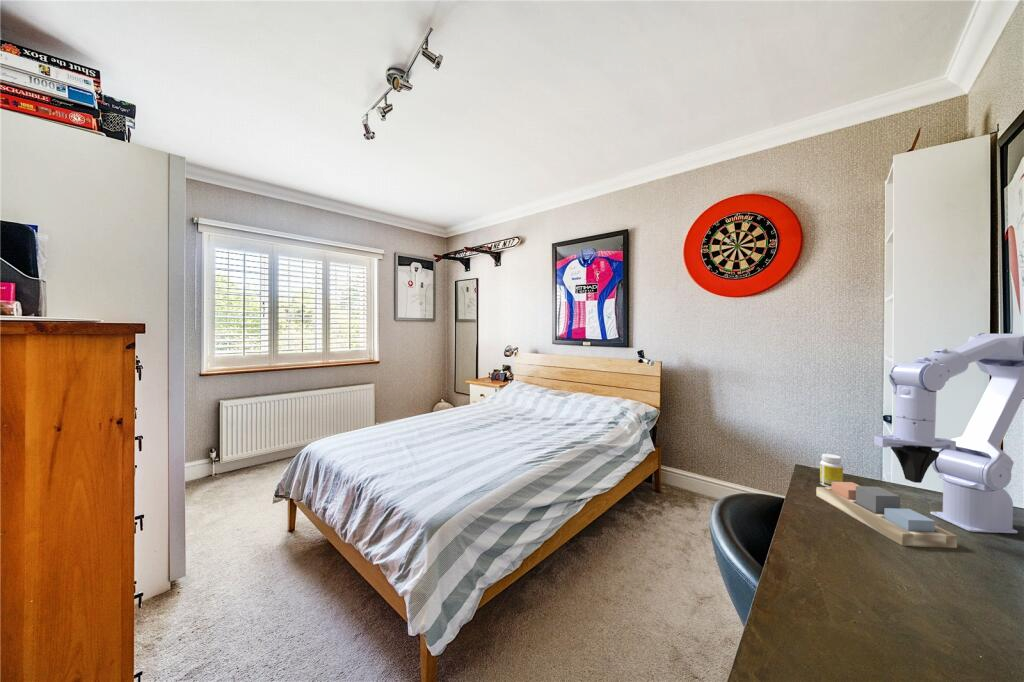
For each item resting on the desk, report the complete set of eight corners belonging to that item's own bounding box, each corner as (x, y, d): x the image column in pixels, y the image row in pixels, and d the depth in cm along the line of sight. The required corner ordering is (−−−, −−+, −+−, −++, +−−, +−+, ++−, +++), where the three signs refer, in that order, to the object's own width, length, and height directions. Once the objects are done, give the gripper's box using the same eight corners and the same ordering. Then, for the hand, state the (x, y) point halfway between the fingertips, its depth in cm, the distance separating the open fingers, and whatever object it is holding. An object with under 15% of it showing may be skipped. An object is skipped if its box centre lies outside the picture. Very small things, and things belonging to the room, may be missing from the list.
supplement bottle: (847, 489, 97) (848, 458, 97) (829, 489, 97) (830, 458, 97) (832, 482, 102) (832, 453, 102) (815, 482, 102) (815, 453, 102)
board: (857, 497, 92) (857, 488, 92) (957, 547, 70) (957, 535, 70) (816, 496, 93) (816, 487, 93) (902, 545, 71) (902, 533, 71)
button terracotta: (852, 497, 91) (852, 482, 91) (870, 507, 86) (870, 490, 86) (831, 497, 91) (831, 481, 91) (848, 506, 86) (848, 490, 86)
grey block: (878, 503, 84) (878, 486, 84) (899, 514, 79) (900, 496, 79) (855, 502, 84) (855, 486, 84) (875, 513, 79) (875, 495, 79)
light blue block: (909, 527, 77) (909, 508, 77) (934, 540, 72) (935, 520, 72) (884, 526, 77) (884, 508, 77) (908, 539, 72) (908, 520, 72)
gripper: (931, 415, 80) (929, 475, 81) (862, 413, 82) (860, 472, 82) (968, 422, 73) (966, 488, 74) (892, 420, 74) (890, 485, 75)
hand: (913, 480), depth 77 cm, fingers closed
